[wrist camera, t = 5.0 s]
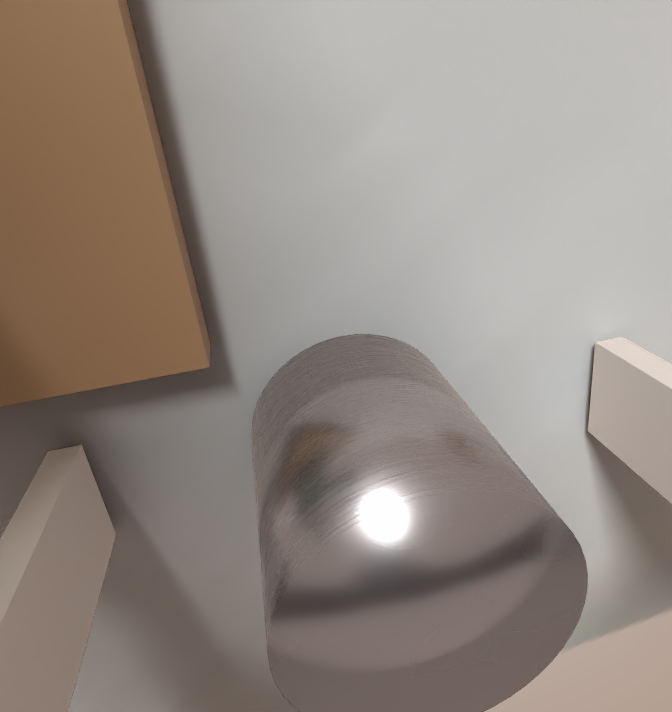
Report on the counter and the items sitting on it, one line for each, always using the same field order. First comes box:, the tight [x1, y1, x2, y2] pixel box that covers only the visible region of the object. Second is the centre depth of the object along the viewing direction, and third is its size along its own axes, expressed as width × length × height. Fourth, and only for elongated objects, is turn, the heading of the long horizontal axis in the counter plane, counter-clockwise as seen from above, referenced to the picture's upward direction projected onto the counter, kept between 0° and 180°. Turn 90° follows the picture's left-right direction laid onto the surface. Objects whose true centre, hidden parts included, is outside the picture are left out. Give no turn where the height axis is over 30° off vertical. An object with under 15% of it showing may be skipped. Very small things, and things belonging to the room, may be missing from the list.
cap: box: [252, 334, 588, 712], centre depth 11 cm, size 5×5×6 cm
